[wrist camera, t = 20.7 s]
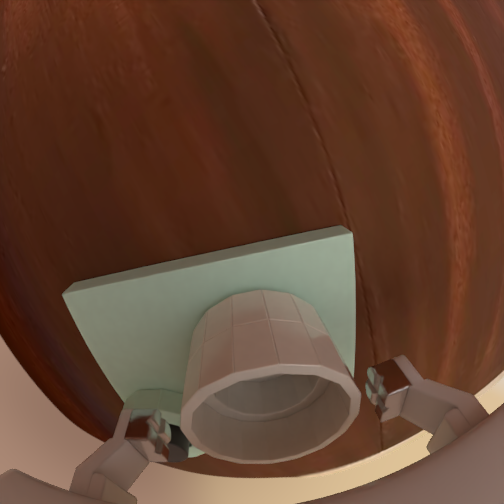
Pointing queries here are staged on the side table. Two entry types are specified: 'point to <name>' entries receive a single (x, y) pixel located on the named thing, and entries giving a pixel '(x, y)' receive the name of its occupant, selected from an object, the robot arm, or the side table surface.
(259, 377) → the bowl
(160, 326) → the scale
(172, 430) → the tare button
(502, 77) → the side table surface
